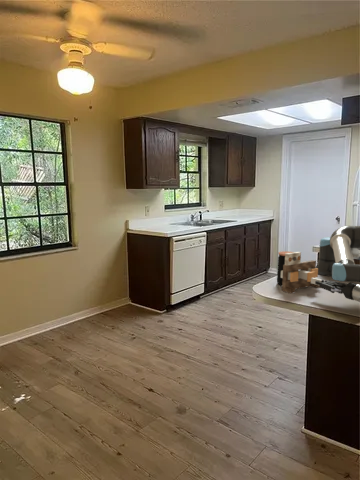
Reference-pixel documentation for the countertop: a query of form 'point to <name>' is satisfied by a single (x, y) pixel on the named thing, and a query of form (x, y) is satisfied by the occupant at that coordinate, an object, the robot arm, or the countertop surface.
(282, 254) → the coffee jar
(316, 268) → the button
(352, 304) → the countertop surface
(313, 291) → the countertop surface
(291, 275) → the button
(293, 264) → the button panel
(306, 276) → the button middle
